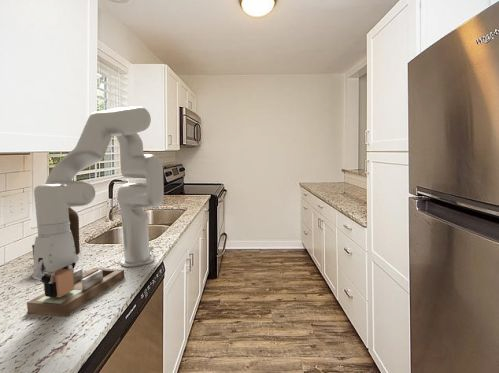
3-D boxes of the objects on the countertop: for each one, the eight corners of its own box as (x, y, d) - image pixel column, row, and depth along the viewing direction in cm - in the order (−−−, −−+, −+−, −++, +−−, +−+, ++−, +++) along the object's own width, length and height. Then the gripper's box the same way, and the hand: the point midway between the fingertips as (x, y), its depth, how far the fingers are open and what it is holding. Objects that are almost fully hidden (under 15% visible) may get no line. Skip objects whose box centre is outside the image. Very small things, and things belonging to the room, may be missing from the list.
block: (59, 288, 90) (57, 268, 89) (74, 289, 89) (72, 269, 88) (44, 296, 85) (42, 275, 84) (60, 297, 84) (58, 276, 83)
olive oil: (77, 255, 133) (73, 198, 131) (49, 258, 130) (44, 199, 128) (83, 248, 143) (79, 195, 141) (58, 251, 141) (53, 196, 138)
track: (94, 276, 109) (93, 259, 108) (124, 278, 107) (123, 261, 106) (27, 312, 84) (25, 291, 83) (65, 316, 81) (63, 294, 81)
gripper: (66, 221, 94) (71, 279, 96) (13, 236, 78) (20, 305, 79) (88, 222, 93) (92, 280, 94) (38, 237, 76) (45, 307, 78)
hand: (59, 291), depth 87 cm, fingers closed on block, 5 cm apart
